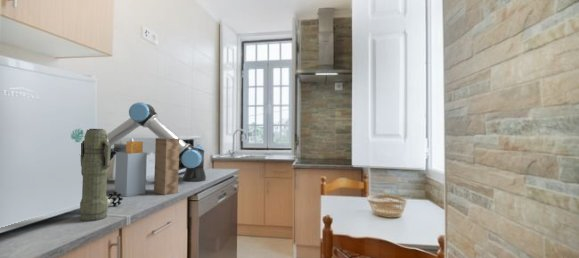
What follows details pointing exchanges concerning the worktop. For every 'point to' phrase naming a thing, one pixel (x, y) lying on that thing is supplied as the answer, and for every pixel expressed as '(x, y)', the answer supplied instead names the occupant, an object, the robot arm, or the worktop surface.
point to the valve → (114, 199)
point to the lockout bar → (129, 147)
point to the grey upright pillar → (130, 173)
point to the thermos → (94, 174)
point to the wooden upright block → (166, 166)
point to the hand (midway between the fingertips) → (120, 140)
